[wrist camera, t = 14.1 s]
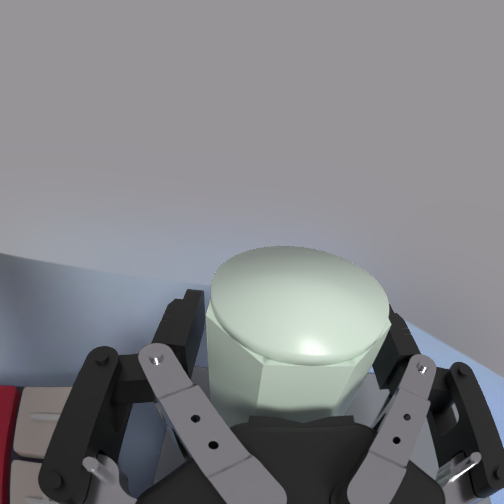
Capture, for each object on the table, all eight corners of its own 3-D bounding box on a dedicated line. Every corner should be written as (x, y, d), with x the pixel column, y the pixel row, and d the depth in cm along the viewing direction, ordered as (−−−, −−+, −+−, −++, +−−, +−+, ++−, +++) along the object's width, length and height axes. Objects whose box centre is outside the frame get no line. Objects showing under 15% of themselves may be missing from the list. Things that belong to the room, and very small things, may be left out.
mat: (130, 611, 3) (127, 612, 2) (184, 368, 19) (183, 364, 18) (495, 556, 2) (499, 554, 2) (438, 370, 18) (440, 367, 18)
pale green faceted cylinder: (210, 466, 12) (193, 345, 7) (222, 379, 18) (223, 240, 13) (329, 469, 12) (415, 351, 7) (319, 384, 17) (361, 252, 13)
